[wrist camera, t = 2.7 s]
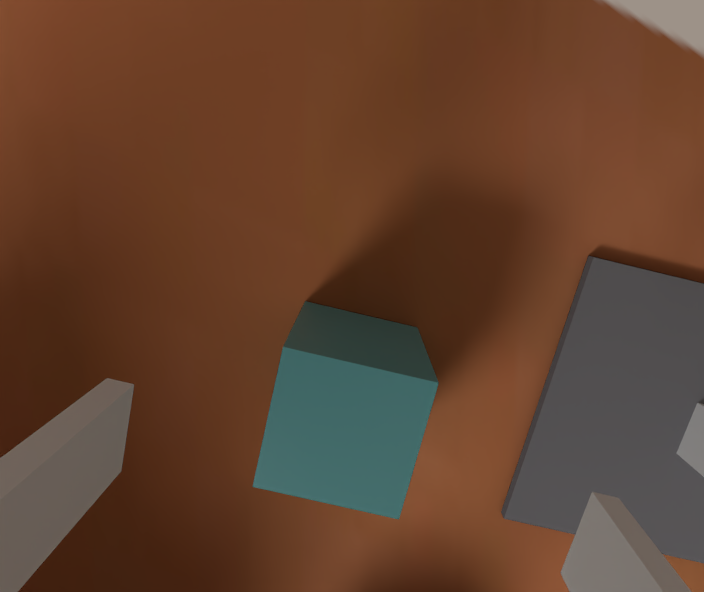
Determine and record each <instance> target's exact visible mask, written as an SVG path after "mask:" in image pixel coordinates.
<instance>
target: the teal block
mask: <svg viewBox="0 0 704 592" xmlns="http://www.w3.org/2000/svg"><path fill="white" fill-rule="evenodd" d="M438 384H439V382H438V380H437V377H436V374H435V372H434V369H433V367H432V364H431V362H430V359H429V356H428V354H427V351H426V349H425V346H424V344H423V341H422V338H421V336H420V333H419V331H418V328H417V327H413V326H409V325H405V324H400V323H396V322H392V321H388V320H383V319H379V318H375V317H371V316H366V315H362V314H358V313H354V312H349V311H345V310H341V309H336V308H332V307H328V306H324V305H319V304H315V303H311V302H307V301H305V303H304V305H303V307H302V309H301V311H300V313H299V315H298V317H297V319H296V321H295V323H294V325H293V327H292V329H291V331H290V334H289V336H288V338H287V340H286V342H285V344H284V346H283V349H282V354H281V359H280V363H279V368H278V372H277V377H276V382H275V386H274V391H273V395H272V400H271V405H270V409H269V414H268V418H267V423H266V428H265V432H264V437H263V441H262V446H261V450H260V455H259V460H258V464H257V469H256V473H255V478H254V483H253V487H256V488H260V489H265V490H269V491H274V492H278V493H283V494H287V495H292V496H296V497H301V498H305V499H310V500H314V501H319V502H323V503H328V504H332V505H337V506H341V507H346V508H350V509H355V510H359V511H364V512H368V513H373V514H377V515H382V516H386V517H391V518H395V519H399V517H400V514H401V510H402V507H403V504H404V500H405V497H406V493H407V490H408V486H409V483H410V480H411V476H412V473H413V469H414V466H415V462H416V459H417V456H418V452H419V449H420V445H421V442H422V438H423V435H424V432H425V428H426V425H427V421H428V418H429V414H430V411H431V408H432V404H433V401H434V397H435V394H436V391H437V387H438Z"/></svg>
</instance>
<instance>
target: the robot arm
mask: <svg viewBox="0 0 704 592" xmlns="http://www.w3.org/2000/svg"><path fill="white" fill-rule="evenodd" d="M133 390H134V384H131V383H127V382H122V381H118V380H114V379H110V378H106V379H105V380H104V381H102V382H101V383H100V384H98V385H97V386H96V387H94V388H93V389H92V390H90V391H89V392H88V393H86V394H85V395H84V396H82V397H81V398H80V399H78V400H77V401H76V402H74V403H73V404H72V405H70V406H69V407H68V408H66V409H65V410H64V411H62V412H61V413H60V414H58V415H57V416H56V417H54V418H53V419H52V420H50V421H49V422H48V423H46V424H45V425H44V426H42V427H41V428H40V429H38V430H37V431H36V432H34V433H33V434H32V435H30V436H29V437H28V438H26V439H25V440H24V441H22V442H21V443H20V444H18V445H17V446H16V447H14V448H13V449H12V450H10V451H9V452H8V453H6V454H5V455H4V456H2V457H1V458H0V592H18V591H19V590H20V589H21V588H22V586H23V585H24V584H25V583H26V582H27V581H28V579H29V578H30V577H31V576H32V575H33V574H34V572H35V571H36V570H37V569H38V568H39V567H40V565H41V564H42V563H43V562H44V561H45V560H46V558H47V557H48V556H49V555H50V554H51V553H52V551H53V550H54V549H55V548H56V547H57V546H58V544H59V543H60V542H61V541H62V540H63V539H64V537H65V536H66V535H67V534H68V533H69V532H70V530H71V529H72V528H73V527H74V526H75V525H76V523H77V522H78V521H79V520H80V519H81V518H82V516H83V515H84V514H85V513H86V512H87V511H88V509H89V508H90V507H91V506H92V505H93V504H94V502H95V501H96V500H97V499H98V498H99V497H100V495H101V494H102V493H103V492H104V491H105V490H106V489H107V487H108V486H109V485H110V484H111V483H112V482H113V480H114V479H115V478H116V477H117V476H118V475H119V473H120V472H121V471H122V464H123V457H124V450H125V444H126V437H127V430H128V424H129V417H130V410H131V403H132V397H133ZM561 575H562V577H563V579H564V581H565V583H566V585H567V587H568V589H569V591H570V592H691V590H690V589H689V588H688V587H687V585H686V584H685V583H684V581H683V580H682V579H681V578H680V576H679V575H678V574H677V572H676V571H675V570H674V569H673V567H672V566H671V565H670V563H669V562H668V561H667V560H666V558H665V557H664V556H663V554H662V553H661V552H660V551H659V549H658V548H657V547H656V545H655V544H654V543H653V542H652V540H651V539H650V538H649V536H648V535H647V534H646V533H645V531H644V530H643V529H642V528H641V526H640V525H639V524H638V522H637V521H636V520H635V519H634V517H633V516H632V515H631V513H630V512H629V511H628V510H627V508H626V507H625V506H624V504H623V503H622V502H621V501H620V499H619V498H617V497H613V496H608V495H604V494H600V493H596V492H592V493H591V496H590V498H589V501H588V503H587V506H586V509H585V511H584V514H583V516H582V519H581V521H580V524H579V527H578V529H577V532H576V534H575V537H574V539H573V542H572V545H571V547H570V550H569V552H568V555H567V557H566V560H565V563H564V565H563V568H562V570H561Z"/></svg>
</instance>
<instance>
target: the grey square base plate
mask: <svg viewBox="0 0 704 592" xmlns="http://www.w3.org/2000/svg"><path fill="white" fill-rule="evenodd" d="M592 492H596V493H600V494H604V495H608V496H613V497H617V498H619V499H620V501H621V502H622V503H623V504H624V506H625V507H626V508H627V510H628V511H629V512H630V513H631V515H632V516H633V517H634V519H635V520H636V521H637V522H638V524H639V525H640V526H641V528H642V529H643V530H644V531H645V533H646V534H647V535H648V536H649V538H650V539H651V540H652V542H653V543H654V544H655V545H656V547H657V548H658V549H659V551H660V552H661V553H662V554H665V555H669V556H674V557H678V558H683V559H687V560H692V561H696V562H701V563H704V283H699V282H695V281H691V280H687V279H683V278H679V277H675V276H670V275H666V274H662V273H658V272H654V271H650V270H646V269H642V268H637V267H633V266H629V265H625V264H621V263H617V262H613V261H608V260H604V259H600V258H596V257H592V256H588V258H587V261H586V264H585V267H584V270H583V273H582V276H581V279H580V282H579V285H578V288H577V291H576V294H575V297H574V300H573V303H572V305H571V308H570V311H569V314H568V317H567V320H566V323H565V326H564V329H563V332H562V335H561V338H560V341H559V344H558V347H557V350H556V352H555V355H554V358H553V361H552V364H551V367H550V370H549V373H548V376H547V379H546V382H545V385H544V388H543V391H542V394H541V397H540V399H539V402H538V405H537V408H536V411H535V414H534V417H533V420H532V423H531V426H530V429H529V432H528V435H527V438H526V441H525V444H524V446H523V449H522V452H521V455H520V458H519V461H518V464H517V467H516V470H515V473H514V476H513V479H512V482H511V485H510V488H509V491H508V493H507V496H506V499H505V502H504V505H503V508H502V511H501V513H502V515H503V517H504V519H508V520H513V521H517V522H522V523H526V524H531V525H535V526H540V527H544V528H549V529H553V530H558V531H562V532H567V533H571V534H576V532H577V529H578V527H579V524H580V521H581V519H582V516H583V514H584V511H585V509H586V506H587V503H588V501H589V498H590V496H591V493H592Z"/></svg>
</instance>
